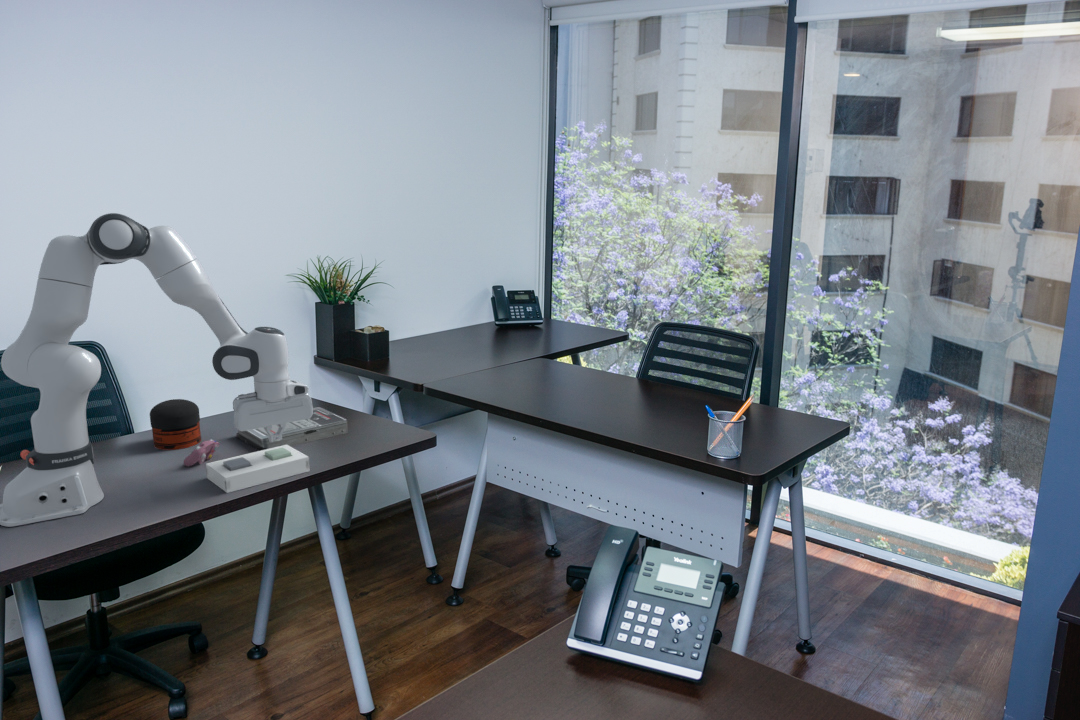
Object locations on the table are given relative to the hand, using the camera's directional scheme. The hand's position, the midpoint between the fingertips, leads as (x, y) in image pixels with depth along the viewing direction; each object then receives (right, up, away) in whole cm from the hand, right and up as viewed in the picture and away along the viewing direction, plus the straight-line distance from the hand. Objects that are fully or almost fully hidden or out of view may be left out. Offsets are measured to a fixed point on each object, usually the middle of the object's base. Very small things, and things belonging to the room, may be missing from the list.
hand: (275, 440), depth 211 cm
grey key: (-8, -8, -5) cm, 12 cm away
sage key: (0, -6, +3) cm, 7 cm away
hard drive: (-5, -2, +31) cm, 31 cm away
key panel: (-4, -9, -1) cm, 10 cm away
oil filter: (-36, -3, +24) cm, 43 cm away
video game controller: (-23, -7, +9) cm, 25 cm away
